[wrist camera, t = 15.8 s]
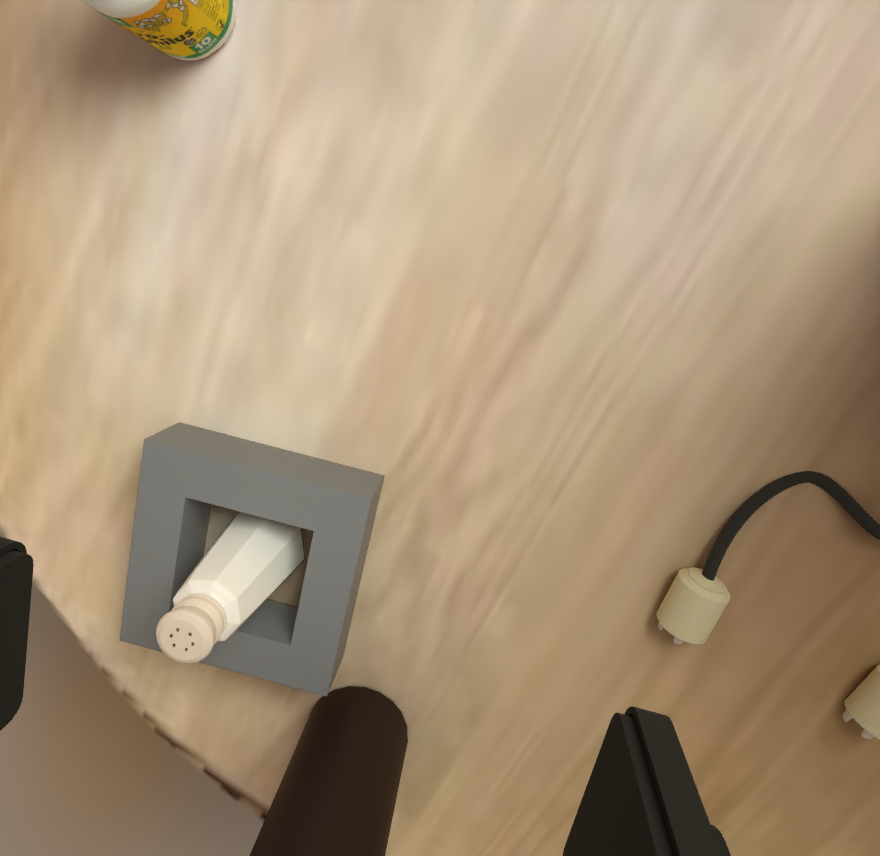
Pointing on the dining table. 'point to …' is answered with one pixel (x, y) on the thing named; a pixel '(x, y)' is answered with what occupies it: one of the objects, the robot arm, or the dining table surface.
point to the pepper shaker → (229, 585)
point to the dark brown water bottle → (339, 780)
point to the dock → (264, 495)
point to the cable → (705, 596)
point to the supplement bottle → (174, 23)
